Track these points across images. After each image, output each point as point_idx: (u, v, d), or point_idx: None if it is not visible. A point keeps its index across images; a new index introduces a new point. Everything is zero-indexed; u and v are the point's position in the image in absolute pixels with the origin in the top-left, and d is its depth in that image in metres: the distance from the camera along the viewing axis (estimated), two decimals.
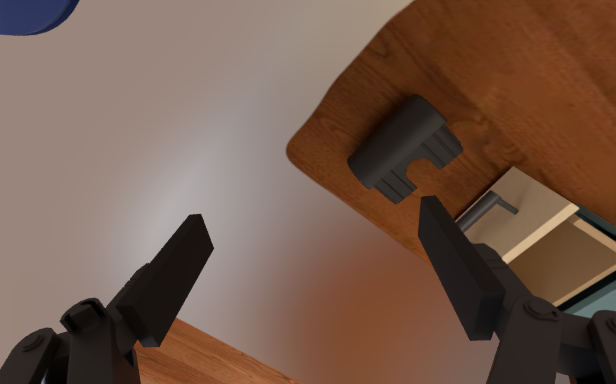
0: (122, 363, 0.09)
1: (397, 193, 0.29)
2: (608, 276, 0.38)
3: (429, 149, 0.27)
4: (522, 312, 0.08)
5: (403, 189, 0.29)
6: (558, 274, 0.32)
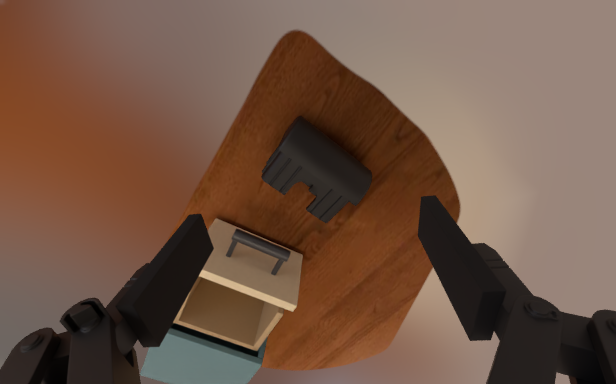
0: (122, 363, 0.09)
1: (275, 178, 0.27)
2: None
3: (327, 197, 0.28)
4: (522, 312, 0.08)
5: (281, 183, 0.27)
6: (220, 316, 0.37)
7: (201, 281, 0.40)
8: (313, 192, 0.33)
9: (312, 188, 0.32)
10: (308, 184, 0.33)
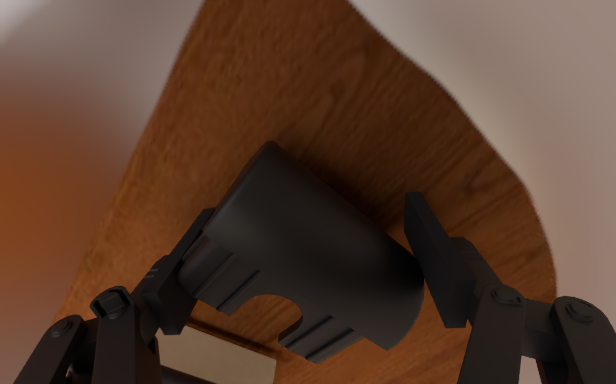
0: (144, 351, 0.10)
1: (207, 285, 0.12)
2: None
3: (324, 325, 0.12)
4: (490, 300, 0.09)
5: (220, 294, 0.12)
6: None
7: None
8: None
9: None
10: None
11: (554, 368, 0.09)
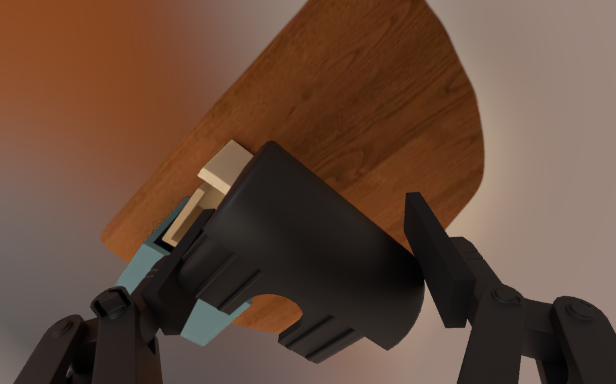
0: (145, 351, 0.10)
1: (207, 285, 0.12)
2: None
3: (324, 325, 0.12)
4: (490, 300, 0.09)
5: (220, 294, 0.12)
6: None
7: (197, 209, 0.36)
8: None
9: None
10: None
11: (554, 368, 0.09)
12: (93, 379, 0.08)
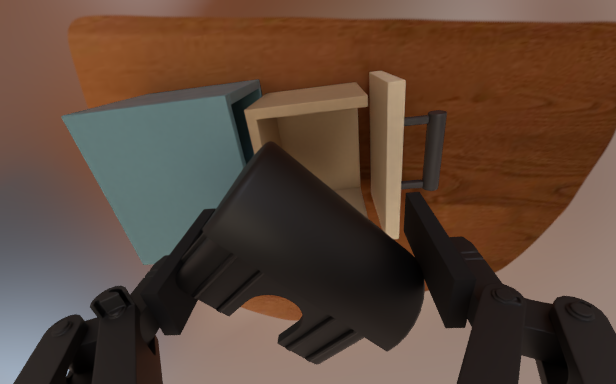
0: (145, 351, 0.10)
1: (206, 286, 0.12)
2: None
3: (324, 326, 0.12)
4: (490, 300, 0.09)
5: (220, 295, 0.12)
6: None
7: None
8: None
9: None
10: None
11: (554, 368, 0.09)
12: (93, 379, 0.08)
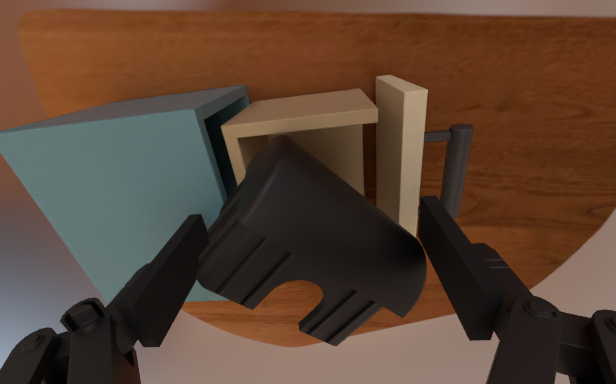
0: (122, 363, 0.09)
1: (232, 279, 0.12)
2: None
3: (344, 304, 0.13)
4: (522, 312, 0.08)
5: (245, 288, 0.12)
6: None
7: None
8: None
9: None
10: None
11: None
12: None
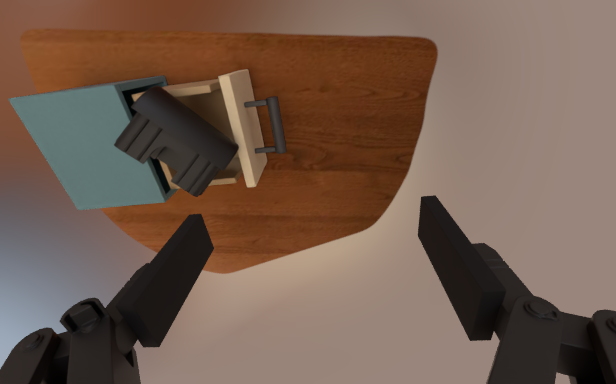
0: (122, 363, 0.09)
1: (131, 144, 0.25)
2: None
3: (192, 164, 0.27)
4: (522, 312, 0.08)
5: (138, 149, 0.26)
6: None
7: None
8: None
9: None
10: (178, 170, 0.32)
11: None
12: None
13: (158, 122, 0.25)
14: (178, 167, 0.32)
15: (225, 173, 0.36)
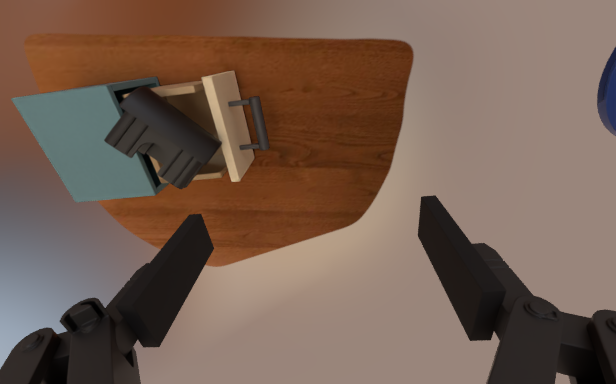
0: (122, 363, 0.09)
1: (119, 139, 0.28)
2: None
3: (176, 159, 0.30)
4: (522, 312, 0.08)
5: (126, 144, 0.28)
6: None
7: None
8: None
9: None
10: None
11: None
12: None
13: (144, 119, 0.27)
14: None
15: (212, 168, 0.38)
